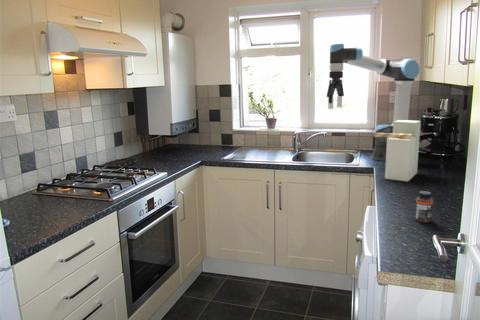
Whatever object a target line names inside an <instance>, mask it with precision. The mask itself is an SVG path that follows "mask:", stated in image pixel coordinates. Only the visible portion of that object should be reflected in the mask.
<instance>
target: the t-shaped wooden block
mask: <svg viewBox="0 0 480 320" xmlns="http://www.w3.org/2000/svg"><path fill="white" fill-rule="evenodd" d="M373 134H374V138H375V137H387V138H398V139H411V138H412V135H413V134H405V133H400V134H392V133H376V132H374V133H373Z"/></svg>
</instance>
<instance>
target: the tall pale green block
mask: <svg viewBox="0 0 480 320" xmlns="http://www.w3.org/2000/svg"><path fill="white" fill-rule="evenodd" d="M392 123H393V134H400V133H405V134H413V135H412V138H411V139H398V138H387V148H386V161H385V168H384V169H385V171H384V179H385V180H392V181H403V182H409V181H410V180H411V179H413V177H415V175H417V174H418V166H419V165H418V164H419V163H418V161H419V148H420V136H421V135H420V134H421V120H413V119H412V120H411V119H408V120H397V121H394V122H393V121H392Z"/></svg>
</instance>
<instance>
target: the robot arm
mask: <svg viewBox="0 0 480 320" xmlns="http://www.w3.org/2000/svg"><path fill="white" fill-rule="evenodd" d="M329 49H330V50H329V66H328V67H329V76H328V78H329V82H328V83H329V84H328V88H327V93H326V98H328V100H327V101H328V103H327V105H328V106H327V107H328V108H327V109H329V110H333V109H334V96H335V95H334V94H335V91H336V93H337V97H336V102H337V103H336V108H342V107H343V106H342V105H343V97H344V96H345V95H344V87H343V77H344V72H343V71H344V64H348V65H351V66H354V67H358V68H361V69H366V70H369V71H373V72H376V74H378V75H382V76H384V77H387V78H391V79H393V81H394V83H395V95H394V96H395V98H394V108H393V120H392V123H391V124H382V125H381V124H380V125H377V126H376V127H375V132H374V133H392V134H393V122H394V121H397V120H409V112H410V102H411V91H412V90H411V89H412V84H414V82H415V79H416V78H417V77H418V75H419V74H420V71H421V69H420V64H419V63H418V62H417V60H415V59H412V58H400V59H384V58H381V59H378V58H375V57H373V56H372V57H371V56H368V55H365V54H364V53H363V49H362V48H361V47H357V46H351V47H350V46H345V43H343V42H342V43H341V42H335V43H334V42H333V43H332V44H330V48H329ZM374 138H375V141H374V142H375V143H374V148H373V151H372V154H371V160H373V161H378V160H380V161H379V162H386V148H387V137H374Z"/></svg>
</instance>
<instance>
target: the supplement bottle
mask: <svg viewBox="0 0 480 320" xmlns="http://www.w3.org/2000/svg"><path fill="white" fill-rule="evenodd" d="M418 194H419V195H418V196H417V197H416V198H415V209H414V210H415V212H414V213H415V214H414V220H416V221H417V222H419V223H422V224H423V223H424V224H425V223H431V222H432V220H433V206H434V200H433V198H432V197H431V196H432V193H431V192H430V191H427V190H426V191H425V190H423V191H422V190H420V191H419V193H418Z"/></svg>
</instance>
